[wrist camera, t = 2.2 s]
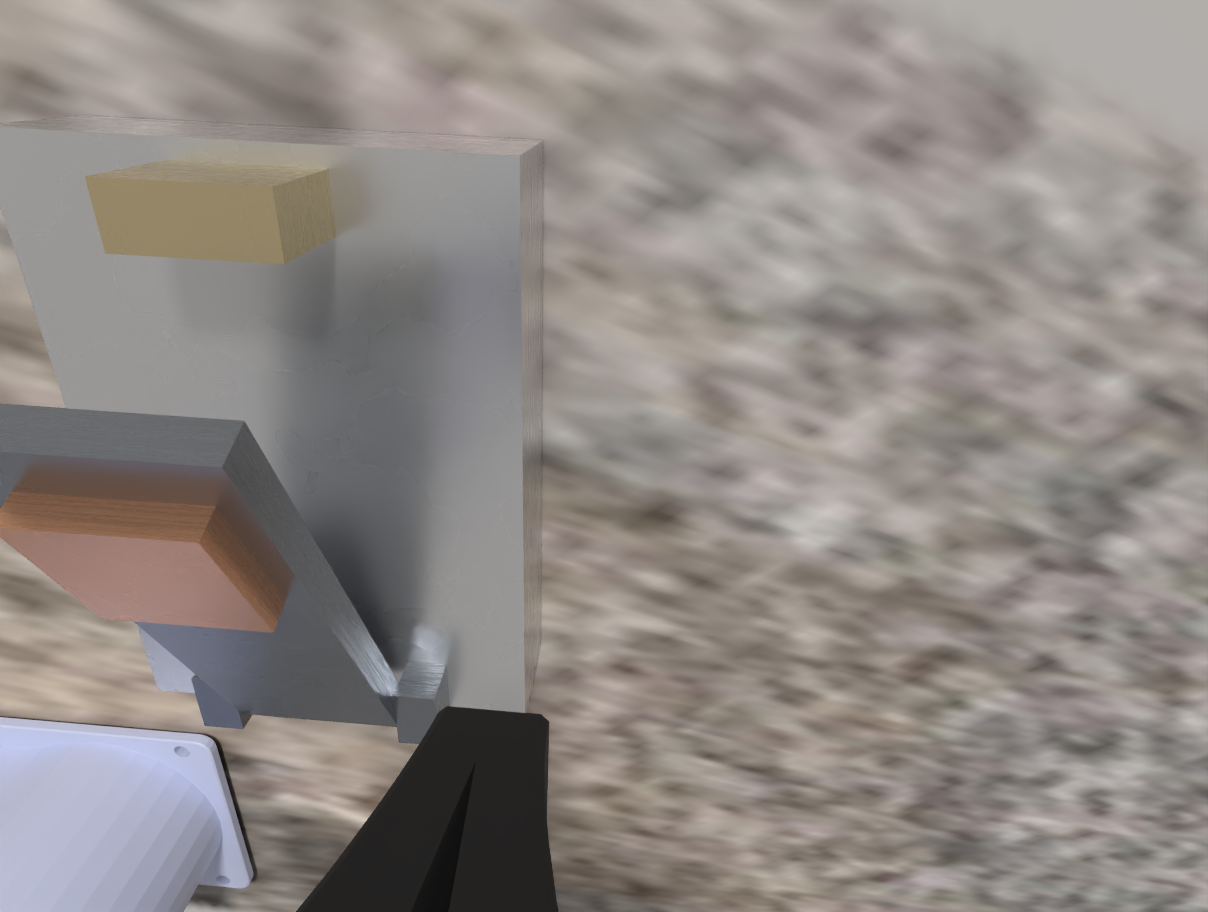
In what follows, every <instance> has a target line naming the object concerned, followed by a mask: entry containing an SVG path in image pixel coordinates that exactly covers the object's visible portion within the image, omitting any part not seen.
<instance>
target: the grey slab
mask: <svg viewBox="0 0 1208 912" xmlns="http://www.w3.org/2000/svg"><path fill="white" fill-rule="evenodd" d="M0 537H1V538H2V539H3V540H4V541H6V542H7V543H8V544H9V545H11V546H12V547H13V548H14V549H16V550H17V551H18V552H19V553H21V554H22V555H23V556H24V557H26V558H27V559H28V560H29V561H31V562H32V563H33V564H34V565H36V566H37V567H38V568H39V569H40V570H42V571H43V572H44V573H45V574H47V575H48V576H49V577H50V578H52V579H53V580H54V581H55V582H57V583H58V584H59V585H60V586H62V587H63V588H64V589H65V590H67V591H68V592H69V593H70V594H72V595H73V596H74V597H75V598H77V599H78V600H79V601H80V602H81V603H83V604H84V605H85V606H86V607H88V608H89V609H90V610H91V611H93V612H94V613H95V614H96V615H98V616H99V617H100V618H101V619H108V620H121V621H133V622H135V623H136V624H137V625H138V626H139V627H140V628H142V629H143V630H144V631H145V632H146V633H147V634H149V635H150V636H151V637H152V638H153V639H155V640H156V641H157V642H158V643H159V644H160V645H162V646H163V647H164V648H165V649H166V650H167V651H169V652H170V653H171V654H172V655H173V656H174V657H176V658H177V659H178V660H179V661H180V662H181V663H183V664H184V665H185V666H186V667H187V668H188V669H190V670H191V671H192V672H193V673H194V674H195V675H197V676H198V677H199V678H200V679H201V680H203V681H204V682H205V683H206V684H207V685H208V686H210V687H211V688H212V689H213V690H214V691H215V692H217V693H218V694H219V695H220V696H221V697H222V698H224V699H225V700H226V701H227V702H228V703H229V704H231V705H232V706H233V707H234V708H235V709H236V710H238V711H239V712H240V713H241V714H251V715H263V716H274V717H286V718H298V719H310V720H322V721H333V722H345V723H357V724H369V725H380V726H392V727H397V723H396V715H395V707H394V699H393V695H394V693H395V690H396V688H397V686H398V681H397V679H396V678H395V676H394V674H393V673H392V671H391V669H390V667H389V666H388V664H387V662H386V661H385V659H384V657H383V656H382V654H381V652H380V650H379V649H378V647H377V645H376V644H375V642H374V640H373V639H372V637H371V635H370V633H369V632H368V630H367V628H366V627H365V625H364V623H363V621H362V620H361V618H360V616H359V615H358V613H357V611H356V610H355V608H354V606H353V604H352V603H351V601H350V599H349V598H348V596H347V594H346V593H345V591H344V589H343V587H342V586H341V584H340V582H339V581H338V579H337V577H336V576H335V574H334V572H333V570H332V569H331V567H330V565H329V564H328V562H327V560H326V559H325V557H324V555H323V553H322V552H321V550H320V548H319V547H318V545H317V543H316V542H315V540H314V538H313V536H312V535H311V533H310V531H309V530H308V528H307V526H306V525H305V523H304V521H303V519H302V518H301V516H300V514H299V513H298V511H297V509H296V508H295V506H294V504H293V502H292V501H291V499H290V497H289V496H288V494H287V492H286V491H285V489H284V487H283V485H282V484H281V482H280V480H279V479H278V477H277V475H276V473H275V472H274V470H273V468H272V467H271V465H270V463H269V462H268V460H267V458H266V456H265V455H264V453H263V451H262V450H261V448H260V446H259V445H258V443H257V441H256V439H255V438H254V436H253V434H252V433H251V431H250V429H249V428H248V426H247V424H246V422H245V421H241V420H227V419H212V418H198V417H184V416H169V415H155V414H140V413H126V412H112V411H97V410H83V409H68V408H54V407H39V406H25V405H11V404H0Z"/></svg>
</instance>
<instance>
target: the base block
mask: <svg viewBox="0 0 1208 912" xmlns="http://www.w3.org/2000/svg"><path fill="white" fill-rule="evenodd" d="M0 207H1V210H2V213H3V216H4V219H5V222H6V225H7V228H8V231H9V234H10V237H11V240H12V243H13V247H14V250H15V253H16V256H17V259H18V262H19V265H20V268H21V271H22V274H23V277H24V280H25V283H26V286H27V289H28V293H29V296H30V299H31V302H32V305H33V308H34V311H35V314H36V317H37V320H38V323H39V326H40V329H41V332H42V335H43V338H44V342H45V345H46V348H47V351H48V354H49V357H50V360H51V363H52V366H53V369H54V372H55V375H56V378H57V381H58V384H59V388H60V391H61V394H62V397H63V400H64V403H65V406H66V408H68V409H83V410H97V411H112V412H126V413H140V414H155V415H169V416H184V417H198V418H212V419H227V420H241V421H245V422H246V424H247V426H248V428H249V429H250V431H251V433H252V434H253V436H254V438H255V439H256V441H257V443H258V445H259V446H260V448H261V450H262V451H263V453H264V455H265V456H266V458H267V460H268V462H269V463H270V465H271V467H272V468H273V470H274V472H275V473H276V475H277V477H278V479H279V480H280V482H281V484H282V485H283V487H284V489H285V491H286V492H287V494H288V496H289V497H290V499H291V501H292V502H293V504H294V506H295V508H296V509H297V511H298V513H299V514H300V516H301V518H302V519H303V521H304V523H305V525H306V526H307V528H308V530H309V531H310V533H311V535H312V536H313V538H314V540H315V542H316V543H317V545H318V547H319V548H320V550H321V552H322V553H323V555H324V557H325V559H326V560H327V562H328V564H329V565H330V567H331V569H332V570H333V572H334V574H335V576H336V577H337V579H338V581H339V582H340V584H341V586H342V587H343V589H344V591H345V593H346V594H347V596H348V598H349V599H350V601H351V603H352V604H353V606H354V608H355V610H356V611H357V613H358V615H359V616H360V618H361V620H362V621H363V623H364V625H365V627H366V628H367V630H368V632H369V633H370V635H371V637H372V639H373V640H374V642H375V644H376V645H377V647H378V649H379V650H380V652H381V654H382V656H383V657H384V659H385V661H386V662H387V664H388V666H389V667H390V669H391V671H392V673H393V674H394V676H395V678H396V679H397V681H398V686H397V688H396V690H395V693H394V695H393V699H394V707H395V715H396V723H397V731H398V739H399V742H400V743H412V744H420V742H421V741H422V739H423V737H424V736H425V734H426V733H427V731H428V729H429V728H430V726H431V724H432V723H433V721H434V719H435V717H436V716H437V714H438V712H439V711H441V710H442V709H444V708H445V707H446V706H452V707H463V708H475V709H486V710H498V711H509V712H520V713H527V708H528V704H529V699H530V694H531V689H532V684H533V679H534V674H535V669H536V665H537V660H538V655H539V650H540V645H541V528H542V314H543V140H536V139H517V138H499V137H480V136H461V135H443V134H424V133H406V132H387V131H368V130H350V129H331V128H313V127H294V126H275V125H257V124H238V123H220V122H201V121H182V120H164V119H145V118H127V117H108V116H89V115H85V116H74V117H63V118H53V119H42V120H31V121H20V122H10V123H0ZM137 627H138V630H139V633H140V636H141V639H142V642H143V645H144V648H145V651H146V654H147V657H148V660H149V663H150V666H151V669H152V673H153V676H154V679H155V682H156V685H157V688H158V690H165V691H177V692H189V693H195V694H196V698H197V701H198V704H199V708H200V711H201V715H202V718H203V721H204V725H205V726H213V727H225V728H237V729H244V727H245V726H246V724H247V722H248V721H249V719H250V718H251V716H252V715H251V714H241V713H240V712H239V711H238V710H236V709H235V708H234V707H233V706H232V705H231V704H229V703H228V702H227V701H226V700H225V699H224V698H222V697H221V696H220V695H219V694H218V693H217V692H215V691H214V690H213V689H212V688H211V687H210V686H208V685H207V684H206V683H205V682H204V681H203V680H201V679H200V678H199V677H198V676H197V675H195V674H194V673H193V672H192V671H191V670H190V669H188V668H187V667H186V666H185V665H184V664H183V663H181V662H180V661H179V660H178V659H177V658H176V657H174V656H173V655H172V654H171V653H170V652H169V651H167V650H166V649H165V648H164V647H163V646H162V645H160V644H159V643H158V642H157V641H156V640H155V639H153V638H152V637H151V636H150V635H149V634H147V633H146V632H145V631H144V630H143V629H142V628H140V627H139V626H138V625H137Z"/></svg>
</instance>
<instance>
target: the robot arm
mask: <svg viewBox="0 0 1208 912" xmlns="http://www.w3.org/2000/svg"><path fill="white" fill-rule="evenodd" d="M548 748H549V721H548V720H547V719H545V718H544V717H543V716H542V715H541V714H532V713H520V712H509V711H498V710H486V709H475V708H463V707H452V706H446V707H445V708H444V709H442V710H441V711H439V712H438V714H437V716H436V717H435V719H434V721H433V723H432V724H431V726H430V728H429V729H428V731H427V733H426V734H425V736H424V737H423V739H422V741H421V742H420V744H419V745H418V747H417V749H416V750H415V752H414V753H413V755H412V756H411V758H410V759H409V761H408V762H407V764H406V765H405V767H404V768H403V770H402V771H401V773H400V774H399V776H398V777H397V779H396V780H395V782H394V783H393V784H392V786H391V787H390V789H389V790H388V792H387V793H386V795H385V796H384V798H383V799H382V800H381V802H380V803H379V805H378V806H377V807H376V809H375V810H374V811H373V813H372V814H371V815H370V817H369V818H368V820H367V821H366V822H365V824H364V825H363V826H362V828H361V829H360V830H359V832H358V833H357V834H356V836H355V837H354V839H353V840H352V841H351V843H350V844H349V845H348V847H347V848H346V849H345V851H344V852H343V853H342V855H341V856H340V857H339V859H338V860H337V861H336V863H335V864H334V865H333V867H332V868H331V869H330V870H329V872H328V873H327V874H326V875H325V877H324V878H323V879H322V880H321V882H320V883H319V884H318V885H317V887H316V888H315V889H314V890H313V891H312V893H311V894H310V895H309V896H308V898H307V899H306V900H305V901H304V903H303V904H302V905H301V906H300V907H299V909H298V910H297V911H296V912H558V907H557V901H556V894H555V886H554V879H553V871H552V863H551V855H550V848H549V839H548V829H547V788H548ZM253 874H254V873H253V870H252V866H251V863H250V860H249V856H248V853H247V849H246V846H245V842H244V839H243V835H242V832H241V828H240V825H239V822H238V818H237V815H236V811H235V808H234V804H233V801H232V797H231V794H230V791H229V787H228V784H227V780H226V777H225V773H224V770H223V766H222V763H221V759H220V756H219V753H218V749H217V746H216V744H215V742H214V741H213V740H212V739H211V738H210V737H208V736H206V735H202V734H192V733H180V732H169V731H157V730H146V729H134V728H122V727H111V726H99V725H88V724H76V723H64V722H53V721H41V720H29V719H18V718H6V717H0V912H184V910H185V908H186V906H187V904H188V903H189V901H190V899H191V897H192V895H193V894H194V892H195V890H196V888H197V887H198V885H209V886H219V887H230V888H244V887H247V886H248V885H249V884H250V882H251V880H252V878H253Z"/></svg>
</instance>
